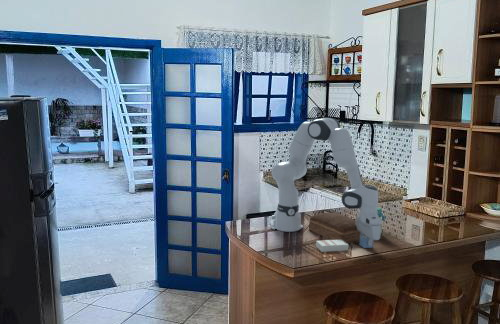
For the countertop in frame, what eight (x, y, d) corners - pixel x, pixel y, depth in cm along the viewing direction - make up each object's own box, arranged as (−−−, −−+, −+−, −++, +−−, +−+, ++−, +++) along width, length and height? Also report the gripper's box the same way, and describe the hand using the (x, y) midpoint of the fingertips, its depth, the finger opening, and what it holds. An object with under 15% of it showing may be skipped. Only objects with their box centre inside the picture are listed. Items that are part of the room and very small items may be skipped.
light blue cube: (359, 244, 232) (359, 235, 231) (368, 244, 233) (368, 234, 232) (363, 248, 227) (364, 238, 226) (372, 247, 228) (373, 237, 227)
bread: (329, 226, 265) (330, 207, 263) (365, 240, 240) (366, 220, 238) (306, 229, 256) (307, 210, 255) (340, 245, 231) (342, 223, 230)
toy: (369, 230, 257) (370, 205, 255) (386, 234, 251) (388, 208, 249) (362, 234, 249) (363, 208, 247) (379, 238, 243) (381, 211, 241)
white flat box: (315, 246, 228) (316, 240, 227) (341, 244, 231) (341, 239, 230) (321, 251, 220) (322, 245, 220) (348, 250, 223) (348, 244, 223)
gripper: (353, 211, 237) (351, 237, 239) (372, 222, 217) (370, 250, 219) (364, 211, 238) (362, 236, 240) (383, 222, 218) (381, 249, 220)
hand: (366, 243), depth 229 cm, fingers closed on light blue cube, 5 cm apart
